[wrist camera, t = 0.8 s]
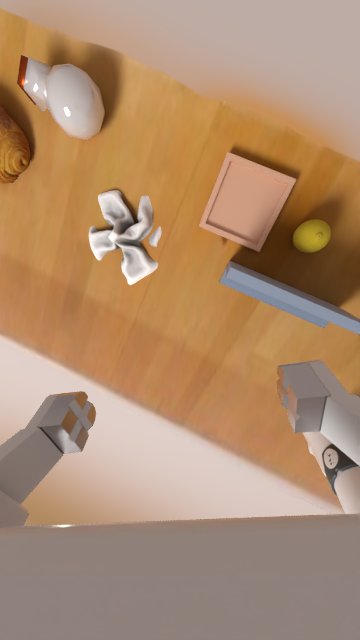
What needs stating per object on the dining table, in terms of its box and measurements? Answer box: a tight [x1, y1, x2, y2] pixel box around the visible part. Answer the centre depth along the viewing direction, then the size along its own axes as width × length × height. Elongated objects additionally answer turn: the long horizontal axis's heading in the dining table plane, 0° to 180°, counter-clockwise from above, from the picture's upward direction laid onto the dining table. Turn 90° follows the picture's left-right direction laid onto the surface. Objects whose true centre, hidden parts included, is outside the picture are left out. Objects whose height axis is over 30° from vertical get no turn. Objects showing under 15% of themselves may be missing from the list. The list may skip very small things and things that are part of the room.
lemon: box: [293, 219, 331, 253], centre depth 38 cm, size 6×6×8 cm
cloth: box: [89, 190, 161, 285], centre depth 46 cm, size 22×19×6 cm
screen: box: [219, 261, 360, 335], centre depth 40 cm, size 24×5×14 cm, turn 68°
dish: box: [199, 152, 297, 252], centre depth 41 cm, size 13×13×2 cm
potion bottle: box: [17, 55, 105, 140], centre depth 39 cm, size 9×10×15 cm
